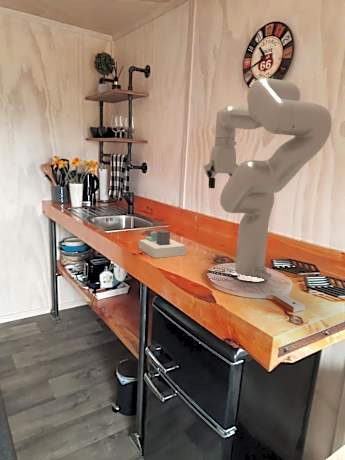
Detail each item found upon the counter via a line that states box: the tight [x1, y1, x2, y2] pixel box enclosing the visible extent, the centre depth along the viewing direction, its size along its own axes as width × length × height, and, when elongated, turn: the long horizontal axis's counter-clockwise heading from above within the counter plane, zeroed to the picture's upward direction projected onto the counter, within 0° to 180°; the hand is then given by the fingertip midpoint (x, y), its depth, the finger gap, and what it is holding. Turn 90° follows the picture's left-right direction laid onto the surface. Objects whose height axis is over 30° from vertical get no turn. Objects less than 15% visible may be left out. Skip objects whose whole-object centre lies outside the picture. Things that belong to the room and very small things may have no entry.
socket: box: [138, 238, 187, 259], centre depth 137 cm, size 16×14×4 cm
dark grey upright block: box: [156, 230, 171, 245], centre depth 136 cm, size 4×4×8 cm
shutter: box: [144, 231, 157, 241], centre depth 142 cm, size 7×7×4 cm
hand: (221, 188), depth 128 cm, fingers open, 9 cm apart
